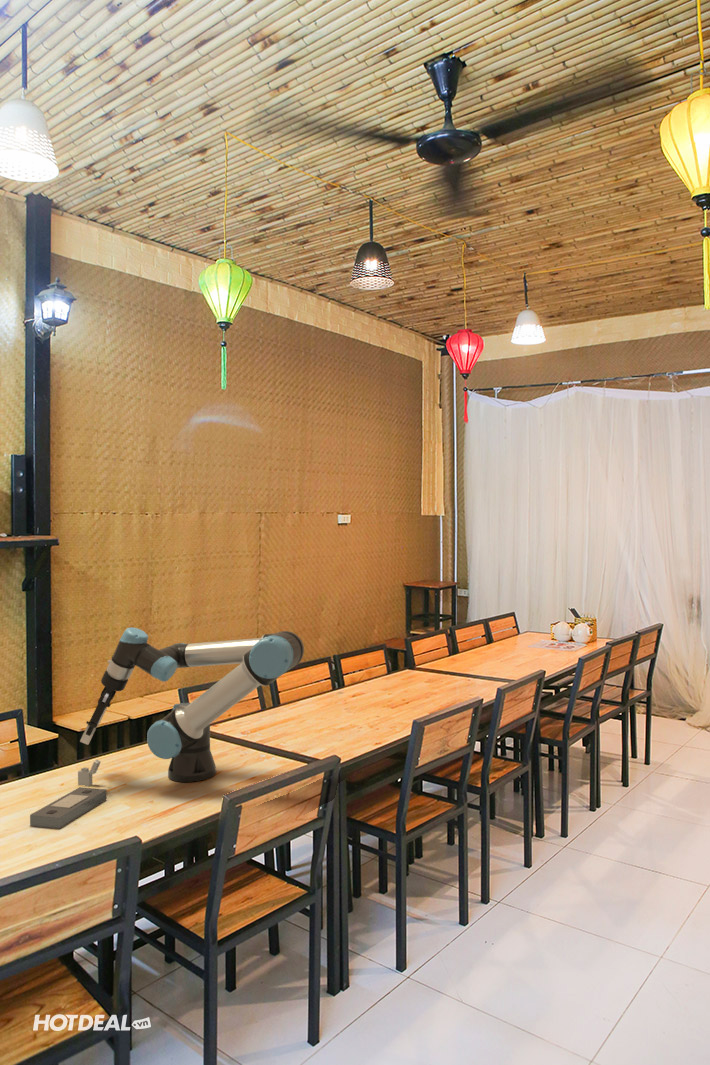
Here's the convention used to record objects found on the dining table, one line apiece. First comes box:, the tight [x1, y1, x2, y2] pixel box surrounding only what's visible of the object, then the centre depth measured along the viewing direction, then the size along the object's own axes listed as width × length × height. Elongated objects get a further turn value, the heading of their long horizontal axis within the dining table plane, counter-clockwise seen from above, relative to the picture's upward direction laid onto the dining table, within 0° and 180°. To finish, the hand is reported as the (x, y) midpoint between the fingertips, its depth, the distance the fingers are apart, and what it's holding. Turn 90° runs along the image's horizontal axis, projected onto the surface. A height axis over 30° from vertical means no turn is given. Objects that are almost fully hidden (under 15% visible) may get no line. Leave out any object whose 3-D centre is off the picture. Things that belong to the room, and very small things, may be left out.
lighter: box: [77, 759, 102, 787], centre depth 231 cm, size 7×2×8 cm, turn 77°
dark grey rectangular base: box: [29, 786, 108, 830], centre depth 209 cm, size 9×22×3 cm, turn 166°
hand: (89, 733), depth 233 cm, fingers open, 13 cm apart
